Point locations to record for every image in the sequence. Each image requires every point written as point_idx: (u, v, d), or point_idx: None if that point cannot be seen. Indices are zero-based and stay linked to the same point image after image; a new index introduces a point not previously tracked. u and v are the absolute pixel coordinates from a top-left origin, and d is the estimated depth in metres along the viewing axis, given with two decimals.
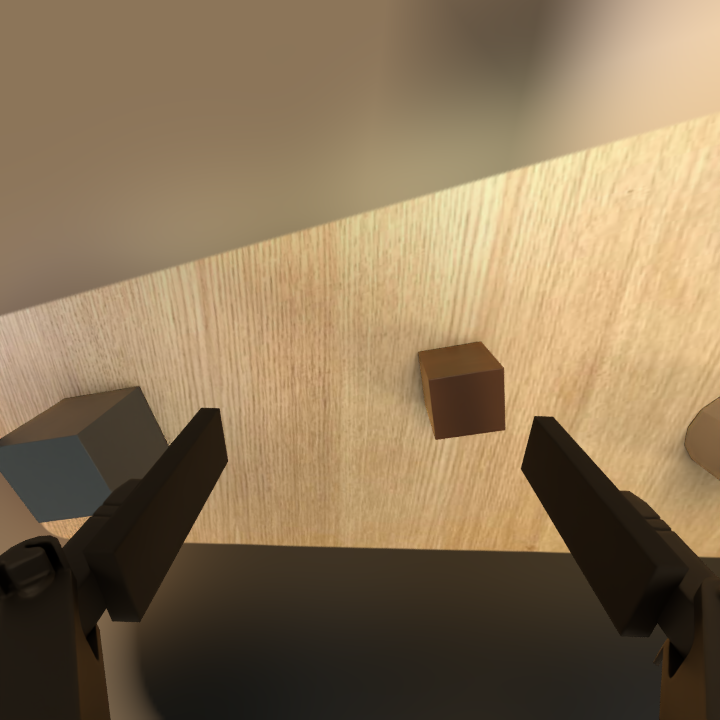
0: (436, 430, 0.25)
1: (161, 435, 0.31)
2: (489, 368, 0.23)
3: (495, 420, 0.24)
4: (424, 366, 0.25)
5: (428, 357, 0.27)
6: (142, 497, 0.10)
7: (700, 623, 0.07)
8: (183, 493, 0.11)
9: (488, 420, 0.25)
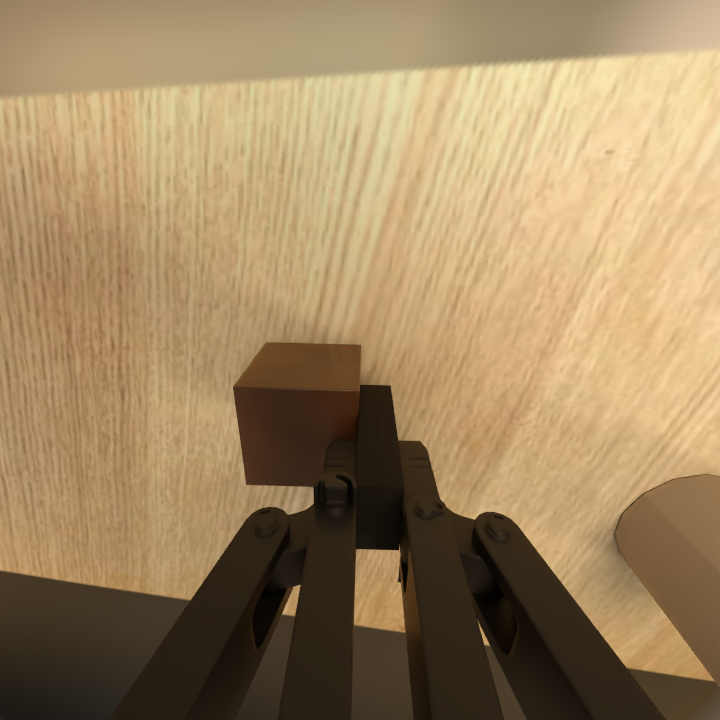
0: (247, 470, 0.15)
1: None
2: (337, 386, 0.14)
3: None
4: (250, 365, 0.16)
5: (269, 353, 0.17)
6: (370, 450, 0.12)
7: (408, 542, 0.09)
8: None
9: None
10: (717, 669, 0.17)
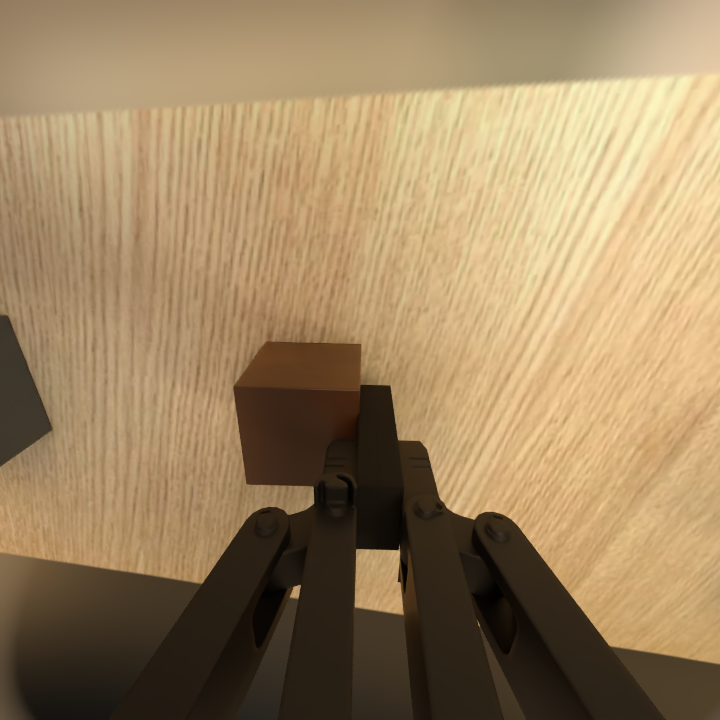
0: (247, 470, 0.15)
1: (37, 402, 0.20)
2: (337, 386, 0.14)
3: None
4: (250, 364, 0.16)
5: (269, 352, 0.17)
6: (370, 450, 0.12)
7: (408, 542, 0.09)
8: None
9: None
10: None
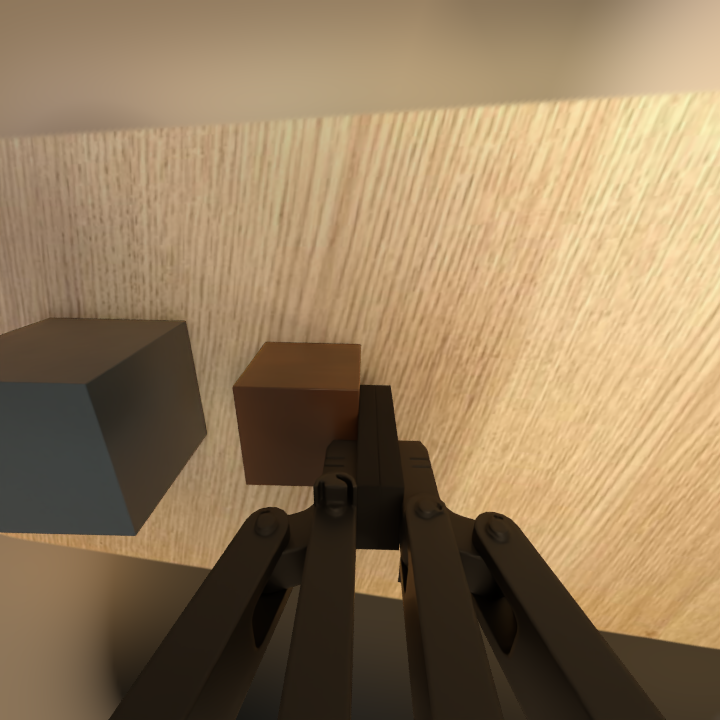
0: (247, 470, 0.15)
1: (200, 406, 0.20)
2: (336, 386, 0.14)
3: None
4: (250, 364, 0.16)
5: (269, 352, 0.17)
6: (370, 450, 0.12)
7: (408, 542, 0.09)
8: None
9: None
10: None
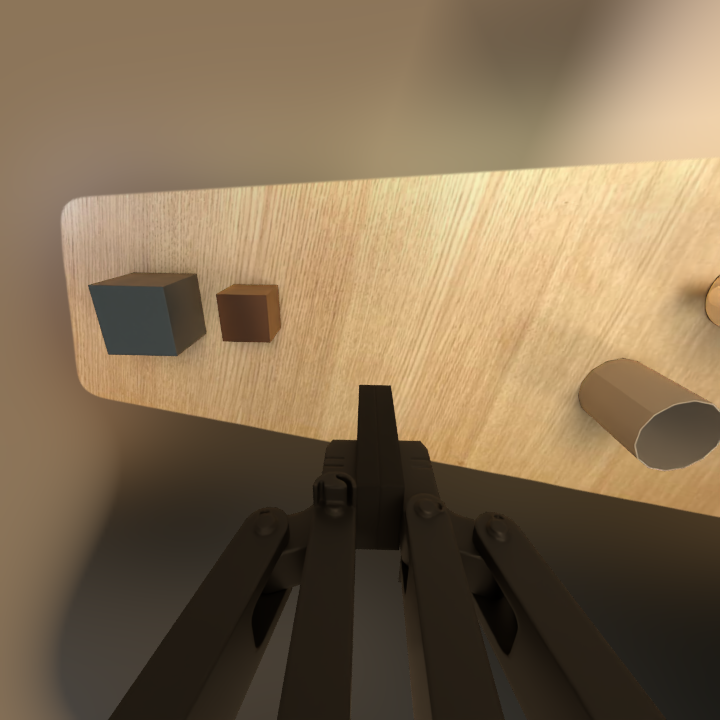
0: (223, 334, 0.36)
1: (202, 317, 0.40)
2: (257, 294, 0.35)
3: (262, 333, 0.36)
4: None
5: (234, 286, 0.38)
6: (369, 450, 0.12)
7: (409, 542, 0.09)
8: None
9: (258, 332, 0.36)
10: (617, 430, 0.37)
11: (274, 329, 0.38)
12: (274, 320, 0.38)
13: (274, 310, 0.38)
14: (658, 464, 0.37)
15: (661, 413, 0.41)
